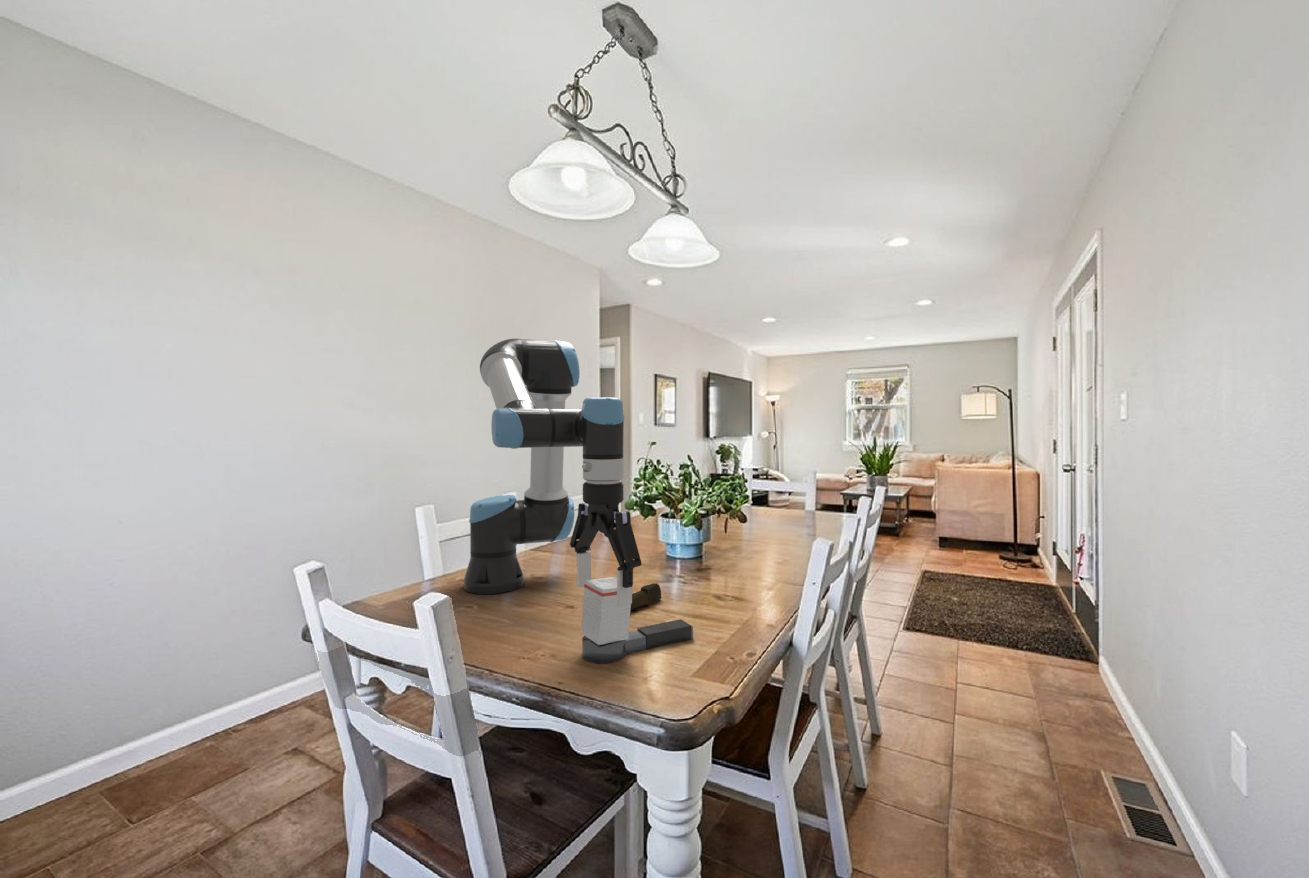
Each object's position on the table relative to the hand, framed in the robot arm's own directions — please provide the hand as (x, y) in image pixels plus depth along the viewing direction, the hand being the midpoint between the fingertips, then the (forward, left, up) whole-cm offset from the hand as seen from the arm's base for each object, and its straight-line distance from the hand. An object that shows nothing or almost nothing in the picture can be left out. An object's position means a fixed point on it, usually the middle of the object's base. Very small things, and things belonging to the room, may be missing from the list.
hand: (603, 594), depth 103 cm
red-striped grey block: (0, 0, -8) cm, 8 cm away
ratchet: (+1, +7, -11) cm, 13 cm away
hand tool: (-17, +19, -12) cm, 28 cm away
